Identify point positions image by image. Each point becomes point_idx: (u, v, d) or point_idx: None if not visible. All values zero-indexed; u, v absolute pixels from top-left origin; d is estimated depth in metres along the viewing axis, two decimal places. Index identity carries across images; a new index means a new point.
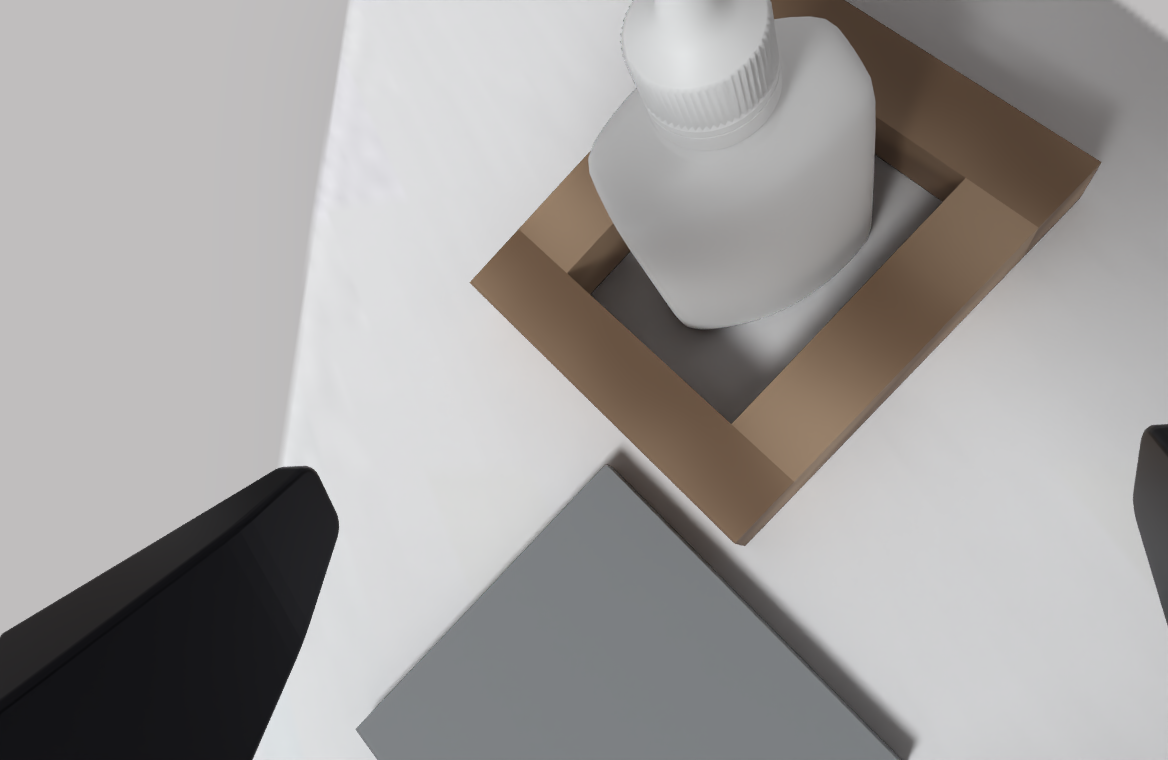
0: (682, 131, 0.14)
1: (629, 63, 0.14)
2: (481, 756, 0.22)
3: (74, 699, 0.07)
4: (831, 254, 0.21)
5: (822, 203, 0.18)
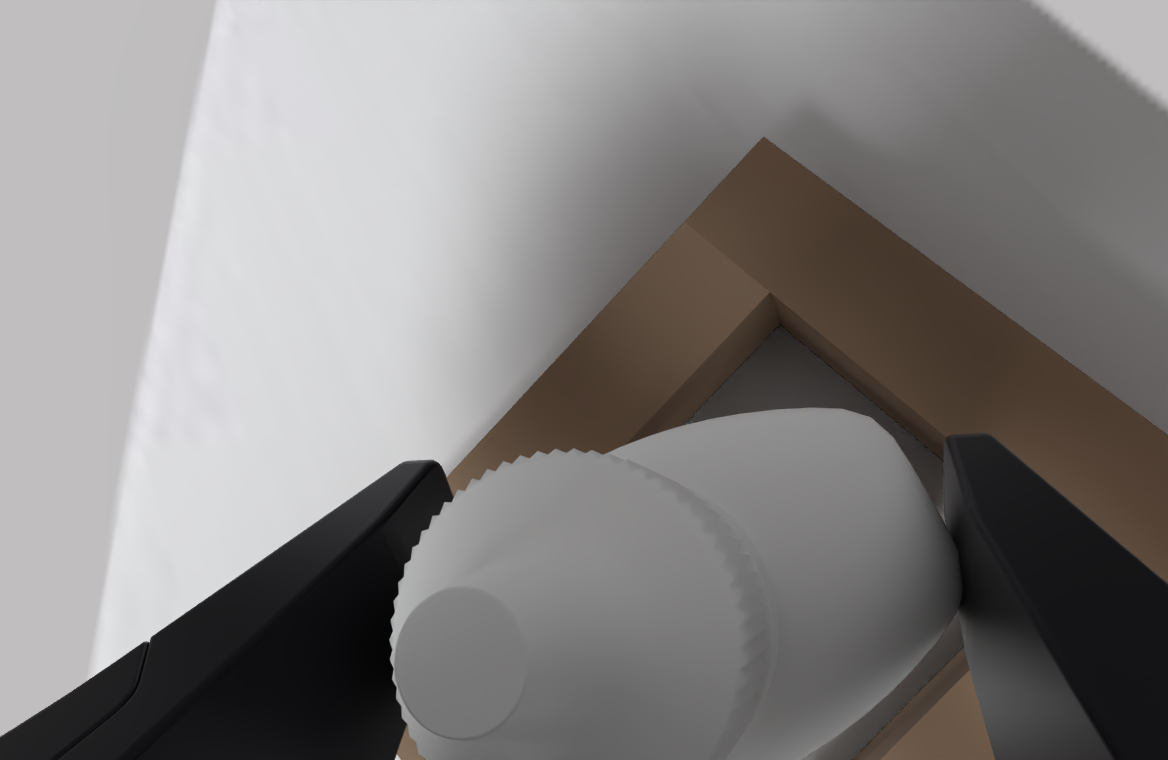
0: None
1: (403, 713, 0.06)
2: None
3: (239, 707, 0.07)
4: None
5: None
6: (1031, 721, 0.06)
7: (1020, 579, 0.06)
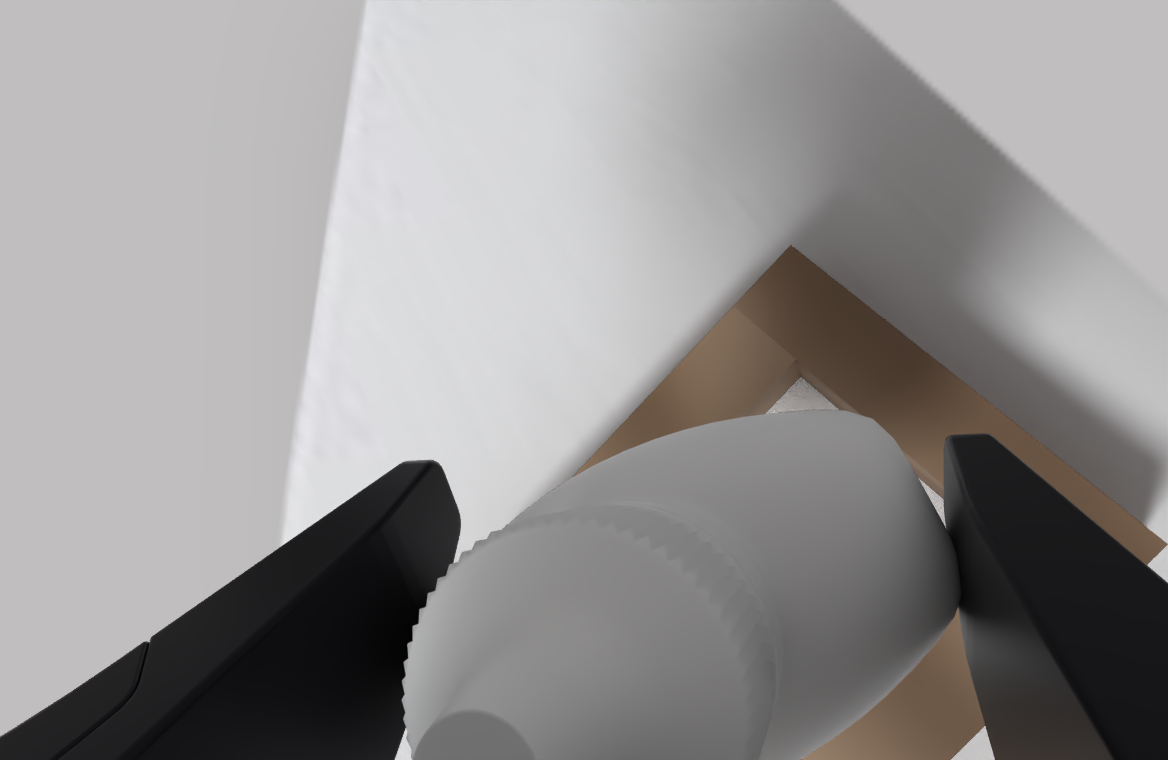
0: None
1: None
2: None
3: (239, 707, 0.07)
4: None
5: None
6: (1030, 721, 0.06)
7: (1019, 579, 0.06)
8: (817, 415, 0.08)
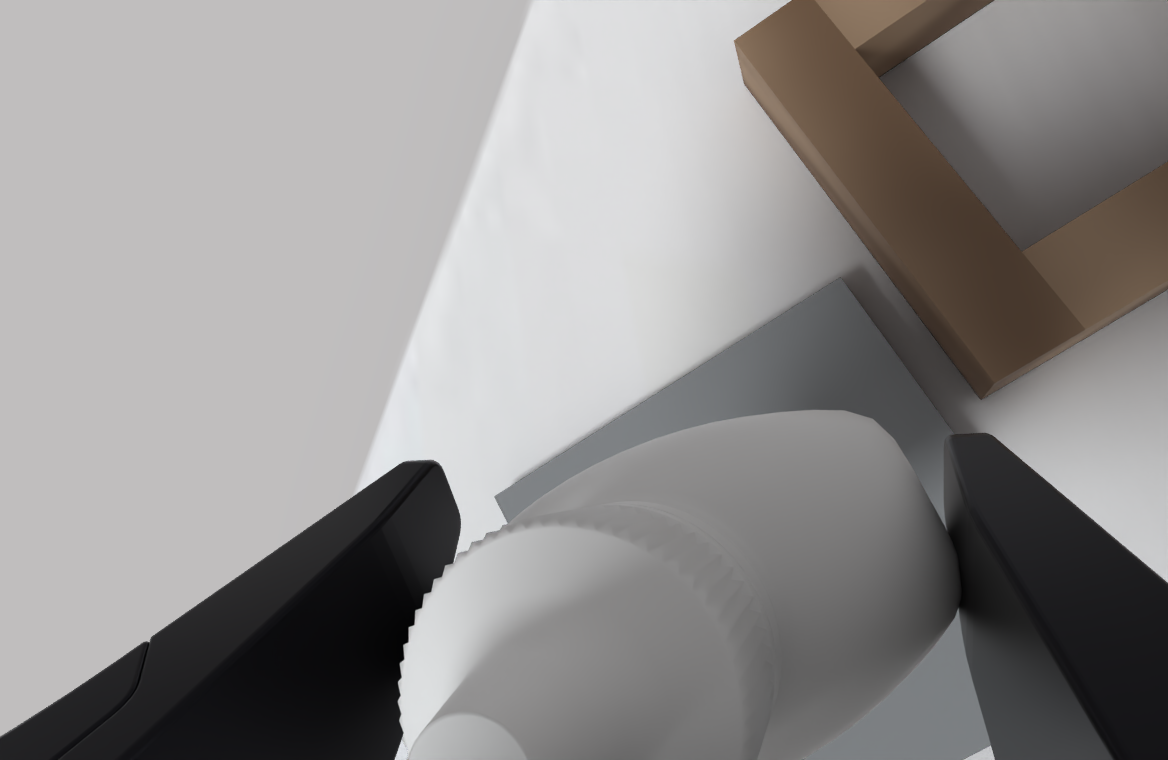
0: None
1: None
2: None
3: (239, 707, 0.07)
4: None
5: None
6: (1031, 721, 0.06)
7: (1020, 579, 0.06)
8: (816, 415, 0.08)
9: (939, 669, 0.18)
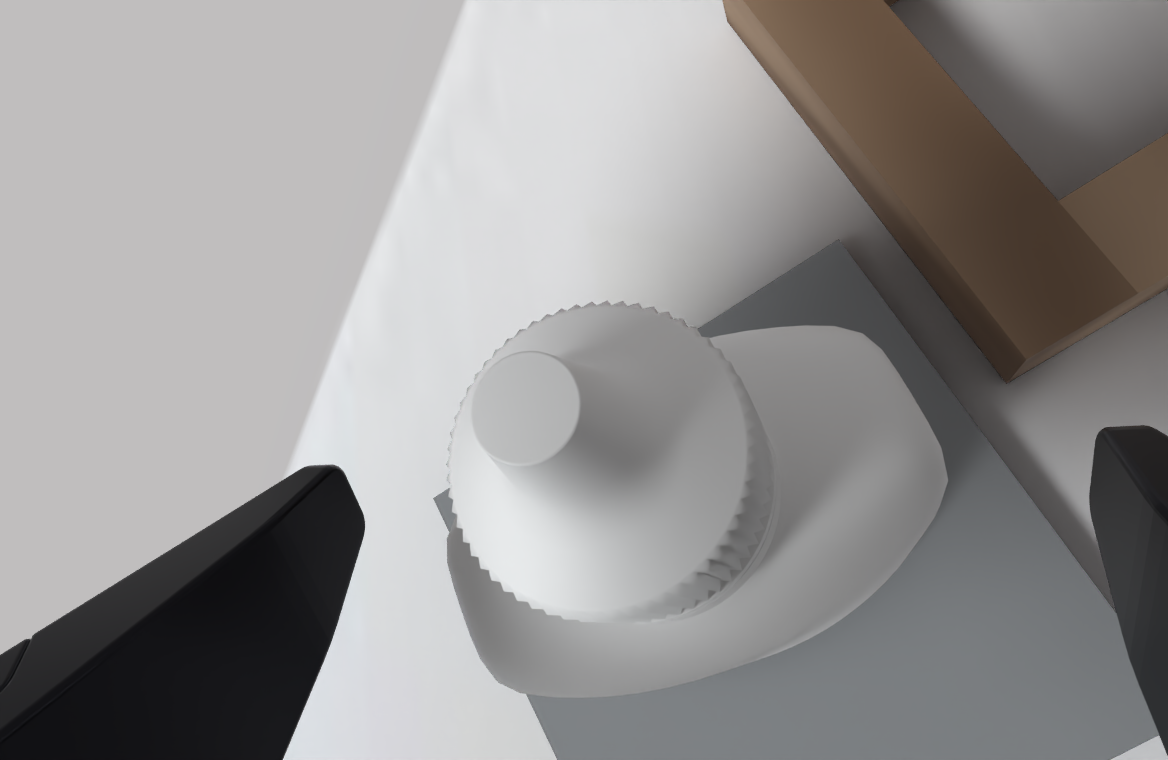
0: None
1: (459, 522, 0.06)
2: None
3: (109, 701, 0.07)
4: (857, 606, 0.13)
5: (849, 606, 0.10)
6: None
7: None
8: (814, 326, 0.09)
9: (959, 709, 0.15)
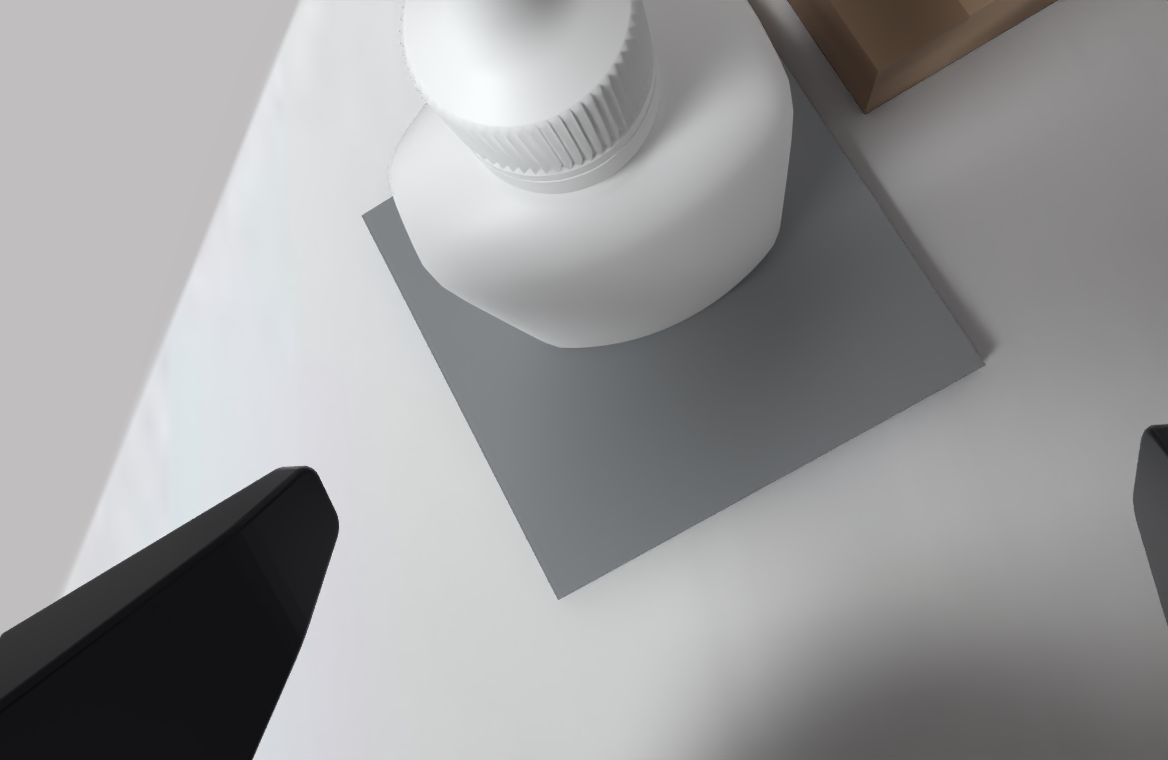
0: (506, 170, 0.09)
1: (411, 72, 0.08)
2: None
3: (74, 699, 0.07)
4: (727, 274, 0.16)
5: (716, 237, 0.13)
6: None
7: None
8: None
9: (807, 369, 0.18)
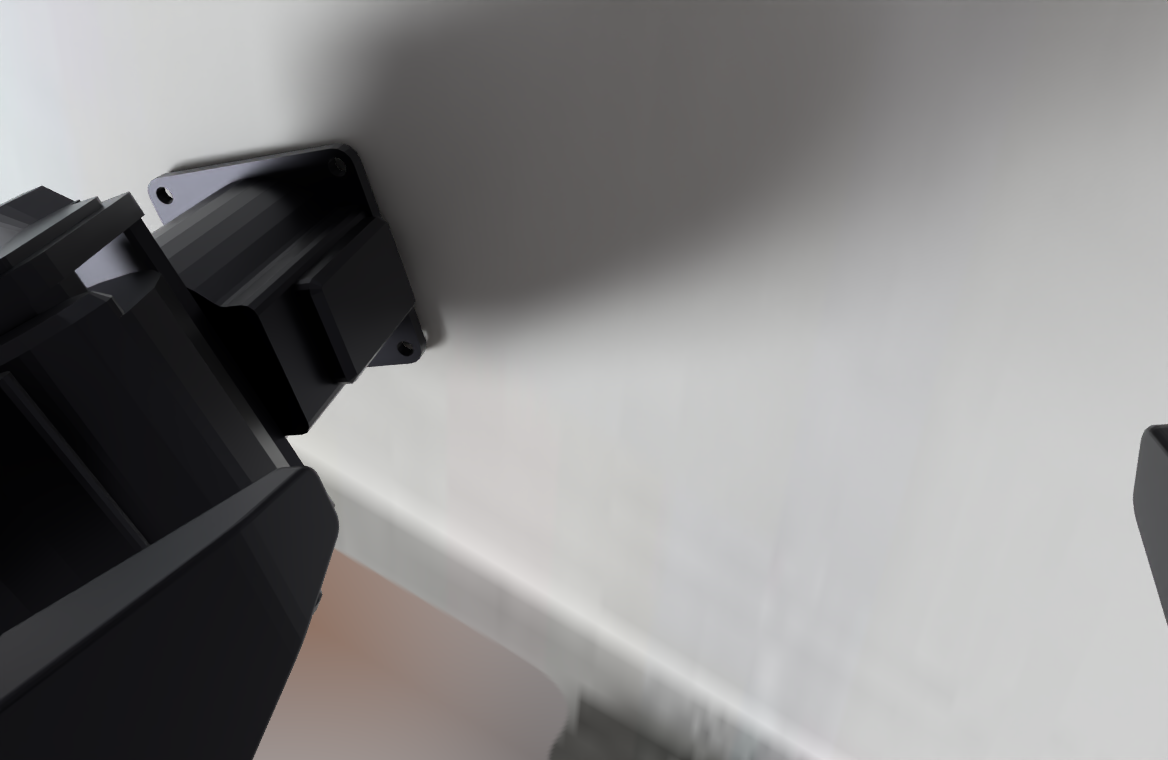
0: None
1: None
2: None
3: (74, 699, 0.07)
4: None
5: None
6: None
7: None
8: None
9: None
